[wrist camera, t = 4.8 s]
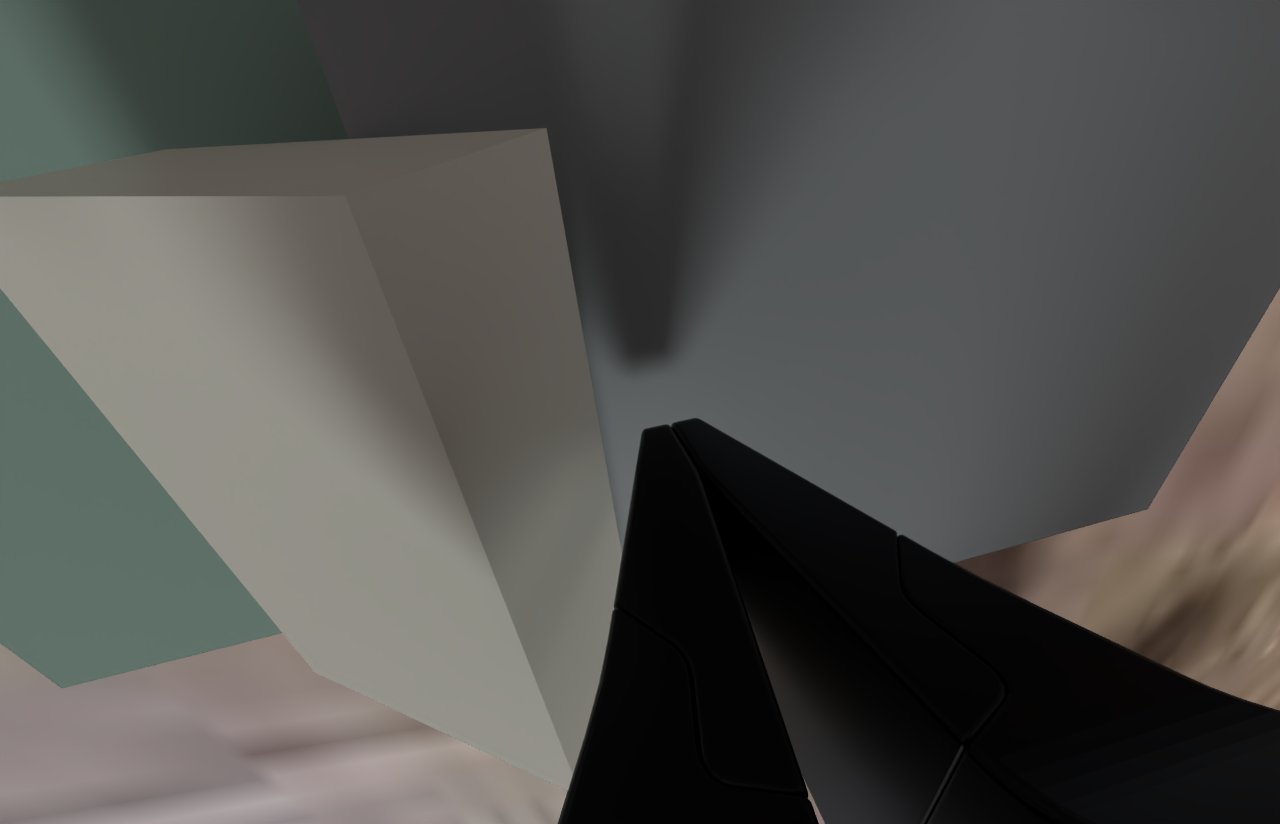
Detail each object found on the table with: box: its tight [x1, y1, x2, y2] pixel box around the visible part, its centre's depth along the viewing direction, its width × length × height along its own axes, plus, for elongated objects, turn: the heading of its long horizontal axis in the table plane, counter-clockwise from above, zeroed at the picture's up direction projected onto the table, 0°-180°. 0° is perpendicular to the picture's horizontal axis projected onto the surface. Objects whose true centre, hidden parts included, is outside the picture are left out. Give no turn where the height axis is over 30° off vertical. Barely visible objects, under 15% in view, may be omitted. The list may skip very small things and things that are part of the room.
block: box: [0, 128, 622, 791], centre depth 8 cm, size 9×6×2 cm
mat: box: [0, 0, 349, 688], centre depth 11 cm, size 14×12×1 cm
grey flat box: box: [297, 0, 1280, 563], centre depth 11 cm, size 13×16×4 cm
